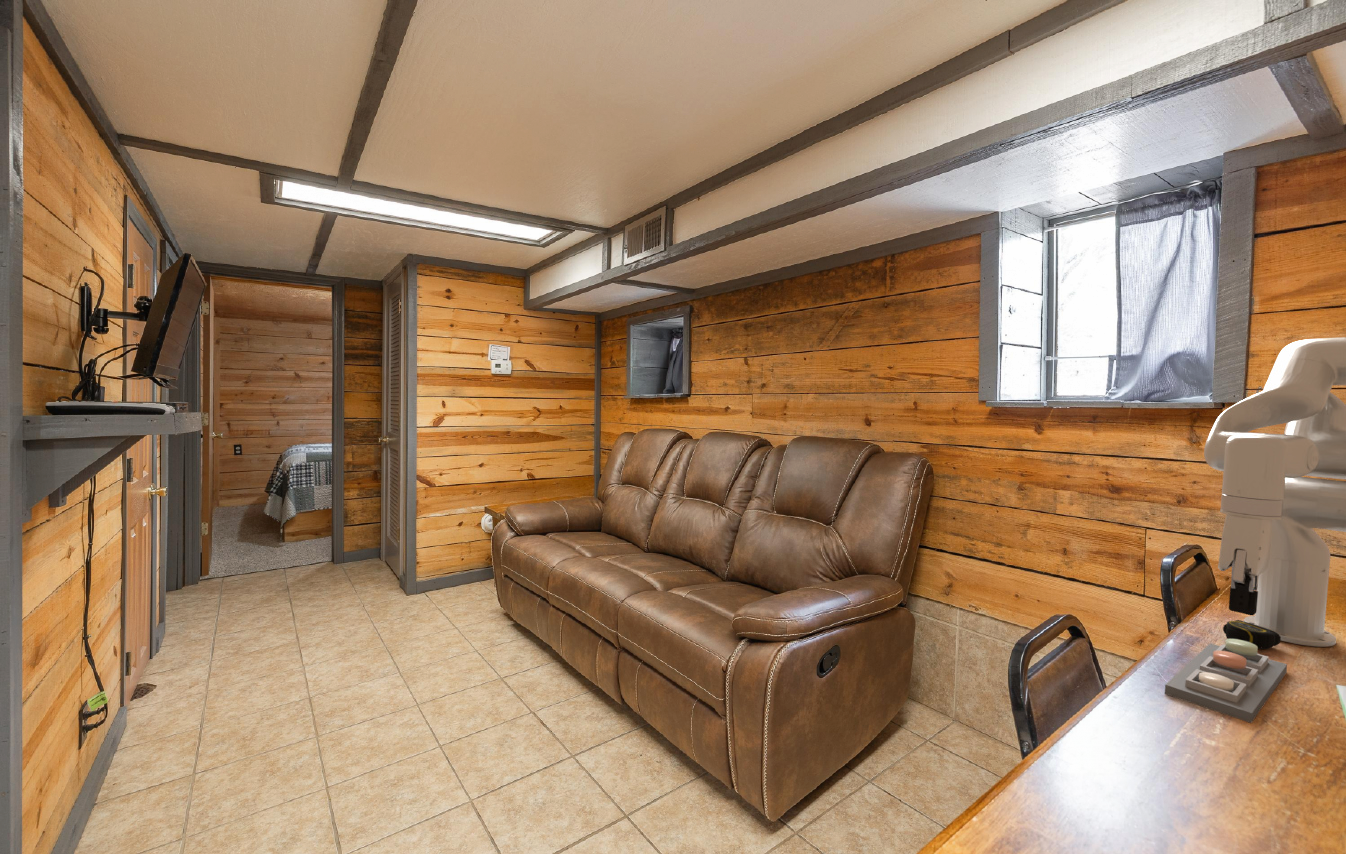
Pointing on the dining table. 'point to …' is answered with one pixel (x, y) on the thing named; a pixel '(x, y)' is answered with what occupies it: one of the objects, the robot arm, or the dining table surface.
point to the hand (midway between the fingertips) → (1242, 611)
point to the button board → (1247, 688)
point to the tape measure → (1251, 634)
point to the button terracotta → (1229, 659)
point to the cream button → (1216, 681)
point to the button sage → (1241, 647)
